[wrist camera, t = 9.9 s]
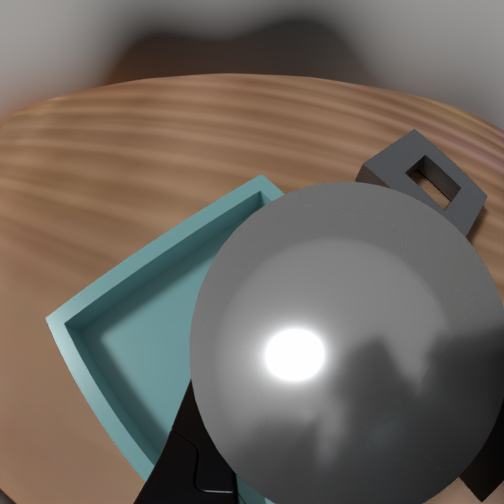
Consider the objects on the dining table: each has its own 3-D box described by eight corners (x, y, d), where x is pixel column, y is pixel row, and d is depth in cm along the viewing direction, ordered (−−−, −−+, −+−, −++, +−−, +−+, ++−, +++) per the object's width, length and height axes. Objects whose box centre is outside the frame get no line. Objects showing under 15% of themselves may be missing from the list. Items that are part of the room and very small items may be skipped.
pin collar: (476, 207, 24) (487, 196, 22) (442, 265, 20) (456, 253, 18) (407, 142, 27) (414, 128, 25) (355, 180, 23) (362, 163, 22)
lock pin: (328, 369, 14) (518, 268, 4) (287, 444, 12) (443, 539, 2) (252, 329, 15) (299, 139, 4) (207, 403, 13) (110, 412, 2)
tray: (447, 402, 15) (474, 398, 13) (269, 568, 10) (275, 591, 7) (258, 201, 22) (261, 173, 19) (69, 331, 16) (45, 318, 14)
